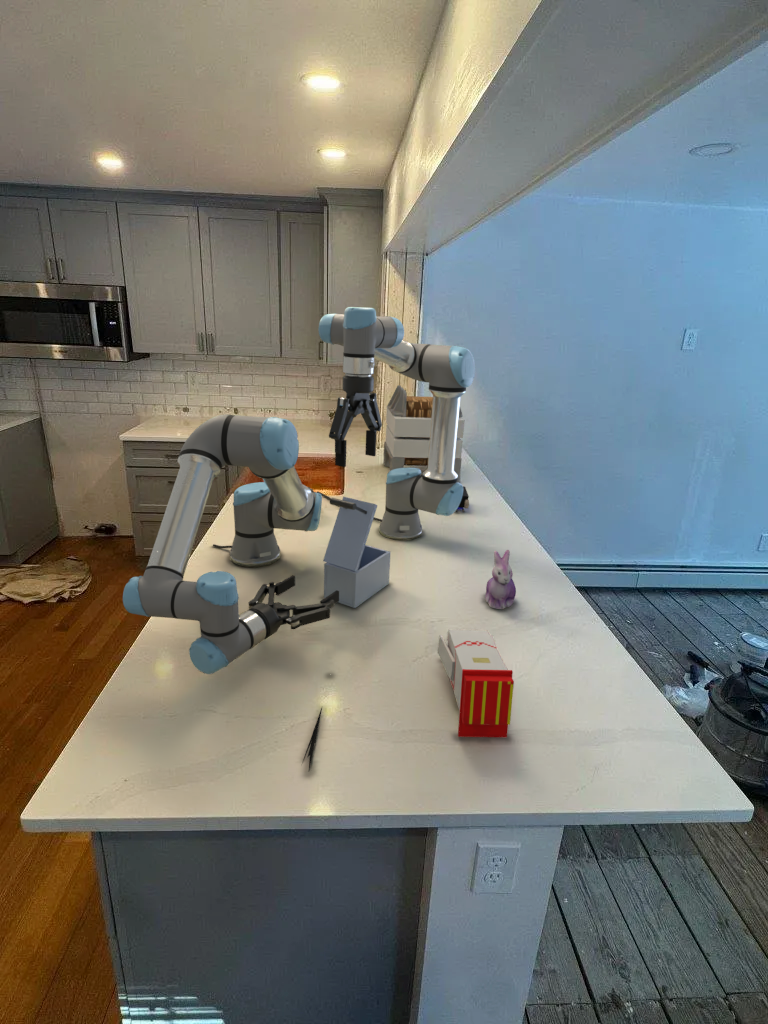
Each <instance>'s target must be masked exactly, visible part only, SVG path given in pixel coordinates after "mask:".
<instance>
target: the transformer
mask: <svg viewBox="0 0 768 1024" xmlns="http://www.w3.org/2000/svg"><path fill="white" fill-rule="evenodd" d="M407 394H408V393H407V390H406V389H404V388H403V387H402V385H399V384H398V385H397V386H396V388H395V390H394V392H393V394H392V395H391V398H390V400H389V402H388V404H387V405H386V413H385V414H386V415H385V423H386V428H385V438H384V442H383V466H384V467H388V468H389V472H390V471H391V470H394V469H398V468H405V466H406V467H407V466H411V467H412V466H413V467H415V466H416V467H417V466H418V467H428V456H429V443H430V430H431V416H432V403H433V396H415V395H414V396H413V395H412V396H411V395H407ZM464 429H465V419H464V418H463V411H462V408H461V406H460V407H459V418H458V428H457V439H456V450H455V461H454V471H455V473H456V474H457V475H458V479H457V482H459V483H461V472H462V461H463V460H462V453H463V442H464V441H463V440H462V439H463V438H464V431H465V430H464Z"/></svg>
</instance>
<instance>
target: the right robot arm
mask: <svg viewBox="0 0 768 1024" xmlns="http://www.w3.org/2000/svg"><path fill="white" fill-rule="evenodd" d="M318 335H319V339H321V341H322V342H323V343H325V344H330V345H333V346H334V345H339V346H341V347H343V352H342V373H343V374H344V375H343V376H342V390H343V392H345V394H346V395H345V397H341V396H339V397H338V398H337V400H336V409H335V412H334V416H333V418H332V419H333V420H332V423H331V426H330V429H329V433H328V438H329V439H332V440H334V465H335V466H337V467H342V468H345V467H347V442H348V441H347V439H346V436H347V433H348V431H349V429H350V427H351V425H352V423H353V421H354V418H356V417H357V416H358V415H360V414H361V417H362V419H363V421H364V423H365V425H366V428H367V429H366V430H365V450H364V452H365V454H364V455H365V456H369V457H376V456H377V455H376V452H377V432H381V430H382V426H383V421H382V418H381V414H380V410H379V406H378V399H377V397H378V396H377V395H378V394H377V393H376V392H374V386H375V385H374V383H375V378H374V376H373V375H374V374H375V365H376V364H375V363H376V362H375V361H378V362H380V363H382V364H385V365H388V367H389V368H390V369H391V370H392V371H393V372H396V373H397V374H401V375H402V376H405V377H407V378H409V379H412V380H415V381H418V382H423V383H428V391H429V392H430V393H431V394H432V397H433V403H432V416H431V430H430V443H429V456H428V466H427V468H426V470H424V471H423V472H422V470H421V468H419V467H404V468H398V469H394V470H391V471H390V470H389V471H388V472H387V475H386V480H385V504H384V505H385V507H384V508H385V509H384V513H383V515H382V519H381V518H378V517H375V516H374V518H373V521H377V522H379V526H378V533H379V534H380V535H381V536H382V537H385V538H387V539H389V540H395V541H410V540H415V539H418V538H420V537H421V536H422V535H423V525H422V524H421V518H420V515H419V510H420V511H423V512H426V513H431V514H433V515H434V514H435V515H436V516H443V517H444V516H445V517H450V516H452V515H453V514H454V513H456V510H457V511H458V509H457V508H458V506H459V504H460V502H461V499H462V496H463V484H462V483H461V482H457V479H458V475H457V474H456V473H455V471H454V461H455V450H456V439H457V428H458V418H459V407H460V408H461V397H462V396H464V395H465V393H466V391H467V388H469V387H470V386H472V384H473V382H474V379H475V375H476V364H475V358H474V356H473V354H472V351H471V350H470V349H469V348H467V347H464V346H459V345H446V344H445V345H444V344H443V345H442V344H432V343H431V344H430V343H414V342H409V341H407V340H403V339H404V337H405V327H404V325H403V323H402V321H400V319H398V318H396V317H393V316H387V315H385V316H377V310H376V309H375V308H374V307H361V306H360V307H357V306H347V307H346V308H345V309H344V313H342V314H341V313H336V312H335V313H326V314H324V315H323V316H322V317H321V318H320V320H319V322H318ZM316 493H320V494H321V495H322V497H324V498H325V499H327V500H328V501H330V499H331V498H332V497H330V496H328V495H326V494H324V493H322V492H320V491H316Z"/></svg>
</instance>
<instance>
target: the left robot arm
mask: <svg viewBox="0 0 768 1024" xmlns="http://www.w3.org/2000/svg"><path fill="white" fill-rule="evenodd" d="M298 436H299V435H298V430H297V428H296V427H295V425H294V423H293V422H292V421H291V420H289V419H287V418H282V417H281V418H280V417H277V416H270V417H269V416H268V417H267V416H251V415H239V414H238V415H234V414H220V415H216V416H213V417H211V418H209V419H207V420H206V421H204V422H203V423H201V424H200V425H199V426H198V427H196V429H194V430H193V432H192V433H190V435H189V436H188V437H187V439H186V440H185V442H184V443H183V445H182V447H181V449H180V452H179V453H178V457H177V460H176V463H177V466H178V467H179V470H178V471H177V472H178V473H177V476H176V479H175V481H174V484H173V487H172V491H171V493H170V496H169V499H168V502H167V505H166V508H165V512H164V514H163V517H162V520H161V523H160V526H159V528H158V532H157V535H156V538H155V541H154V544H153V547H152V550H151V553H150V555H149V558H148V563H147V565H146V567H145V570H144V573H143V575H139V576H132V577H131V578H129V580H128V582H127V583H126V584H125V586H124V588H123V593H122V604H123V607H124V609H125V610H126V611H127V612H128V613H130V614H131V615H137V616H143V617H146V618H147V617H148V618H151V617H153V618H167V619H176V620H177V619H178V620H185V621H186V620H187V621H197V622H199V629H200V637H197V638H196V639H195V640H194V641H193V642H191V643H190V647H189V648H188V654H189V659H190V661H191V663H192V665H193V666H194V667H195V669H196V670H198V671H199V672H201V673H203V674H205V675H212V674H216V673H217V672H218V671H220V670H222V669H224V668H227V667H228V666H229V665H230V664H232V663H233V662H234V661H236V660H237V659H238V658H240V657H241V656H242V655H244V654H246V653H247V652H249V651H251V650H252V649H253V648H255V647H256V646H258V645H259V644H261V643H262V642H264V641H265V640H267V639H268V638H270V637H272V636H273V635H275V634H276V633H277V632H278V630H279V629H280V627H282V626H284V625H289V626H290V629H291V630H293V631H294V630H296V629H299V628H301V627H304V626H306V625H310V624H313V623H316V622H317V623H318V622H320V621H325V620H328V619H330V618H331V609H332V608H334V606H335V604H337V603H338V601H339V591H337V590H336V591H335V592H333V593H332V594H330V595H329V596H327V597H326V598H324V597H323V598H322V599H321V600H320V601H319V603H313V604H305V605H297V606H296V605H295V604H289V605H287V604H283V603H281V602H279V601H278V602H276V601H275V596H277V597H278V596H280V595H282V594H283V593H285V592H288V590H290V589H292V588H293V587H295V586H296V575H293V574H292V575H290V576H288V577H287V578H286V579H284V580H282V581H277V582H276V583H275V582H273V581H270V582H269V583H268V585H267V583H263V584H261V585H260V587H259V588H258V591H257V592H256V593H255V595H254V596H253V598H252V599H251V600H249V601H248V609H247V610H245V611H242V613H239V612H240V610H239V609H240V608H239V599H240V597H239V593H238V585H237V580H236V578H235V576H234V575H233V574H232V573H230V572H227V571H223V570H217V571H208V572H205V573H203V574H202V575H200V576H199V577H197V580H196V581H190V580H184V576H185V573H186V570H187V567H188V563H189V560H190V557H191V553H192V550H193V547H194V543H195V541H196V537H197V534H198V530H199V528H200V525H201V524H200V523H201V521H202V518H203V514H204V512H205V508H206V505H207V502H208V499H209V495H210V492H211V488H212V485H213V482H214V479H216V478H218V477H219V476H220V475H221V472H222V469H223V467H225V466H234V467H247V468H248V469H249V471H250V472H251V473H252V474H253V475H254V476H256V477H258V478H259V479H262V480H263V481H259V482H251V483H247V484H243V485H241V486H239V487H237V488H236V489H235V490H234V492H233V502H232V506H233V519H234V520H233V521H234V537H233V540H232V544H231V545H219V544H215V543H214V544H212V547H213V548H217V549H230V551H229V560H230V561H231V562H232V563H233V564H235V565H238V566H241V567H246V568H259V567H265V566H268V565H269V566H270V565H272V564H274V563H276V562H277V561H279V559H280V558H281V548H280V546H279V545H278V540H277V538H276V535H275V530H274V529H277V530H278V529H279V530H289V531H291V530H292V531H301V532H307V533H308V532H315V531H317V530H318V528H319V525H320V521H321V513H322V506H323V496H322V495H321V494H320V493H321V492H320V493H317V491H314V493H312V492H311V491H310V489H309V488H308V487H309V486H306V485H305V484H303V482H302V481H301V478H300V476H299V474H298V472H297V469H296V467H295V465H296V464H297V461H298V458H299V453H300V452H299V451H300V442H299V439H298V438H299V437H298ZM267 595H268V598H267V603H264V600H265V598H266V597H267Z"/></svg>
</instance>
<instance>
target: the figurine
mask: <svg viewBox="0 0 768 1024" xmlns="http://www.w3.org/2000/svg"><path fill="white" fill-rule="evenodd" d="M510 555H511V551H510V550H509V549H506V550H505V552H504V553H503V555H502V557H501V555H500V553H499V552H498V551H497V550H494V551H493V558H494V559H493V562H494V565H493V568H492V570H491V575H492V577H490V578H489V579H488V580H487V583H486V586H485V589H486V590H485V594H484V596H485V597H484V599H485V602H486V603H487V604H488V607H490V608H492V609H498V610H504V609H505V608H510V607H511V606H512V605H513V603H514V602H515V597H516V596H517V595H516V594H517V588H516V584H515V581H514V580H513V576H514V575H513V574H514V573H513V570H512V567H511V565H510Z"/></svg>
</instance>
